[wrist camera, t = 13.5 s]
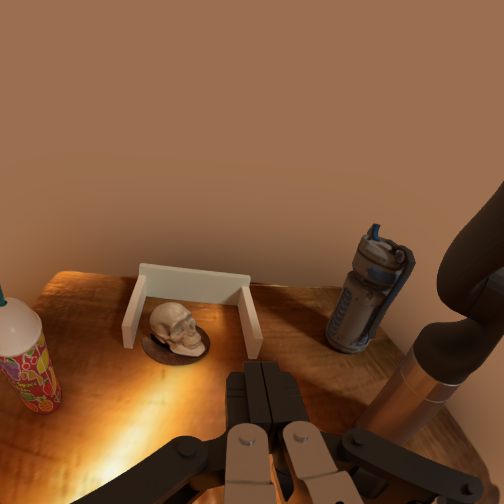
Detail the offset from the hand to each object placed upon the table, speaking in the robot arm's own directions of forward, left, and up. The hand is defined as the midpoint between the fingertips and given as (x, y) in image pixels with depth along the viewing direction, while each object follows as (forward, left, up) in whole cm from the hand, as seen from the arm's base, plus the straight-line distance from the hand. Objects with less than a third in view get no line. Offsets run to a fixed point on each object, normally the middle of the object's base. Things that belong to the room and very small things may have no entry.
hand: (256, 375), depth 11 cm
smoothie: (+23, -11, -25) cm, 36 cm away
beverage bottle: (-31, -29, -25) cm, 49 cm away
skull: (+4, -28, -26) cm, 38 cm away
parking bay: (+1, -33, -25) cm, 41 cm away
